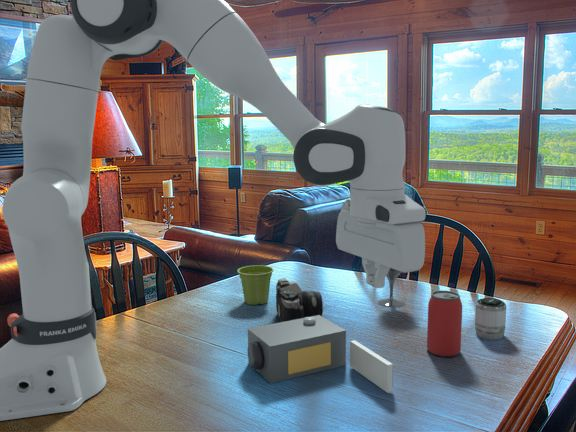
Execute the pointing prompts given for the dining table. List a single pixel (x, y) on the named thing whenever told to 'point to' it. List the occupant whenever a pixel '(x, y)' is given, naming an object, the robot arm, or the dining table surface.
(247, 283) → the plant pot
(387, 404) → the dining table surface
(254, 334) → the block
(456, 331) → the beer can
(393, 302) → the wine glass
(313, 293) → the camera
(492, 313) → the camera lens
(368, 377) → the side door
